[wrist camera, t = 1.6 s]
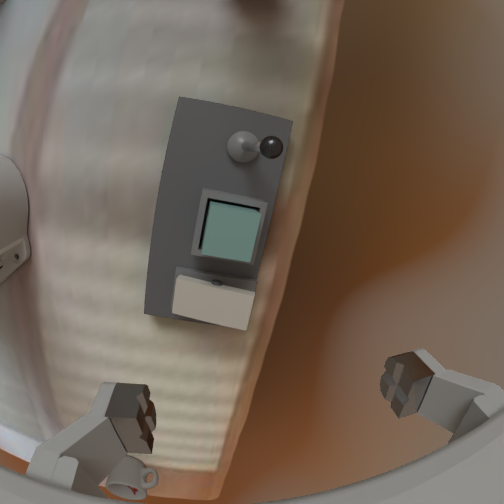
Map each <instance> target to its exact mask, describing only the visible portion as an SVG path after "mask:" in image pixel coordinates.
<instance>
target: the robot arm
mask: <svg viewBox="0 0 504 504" xmlns="http://www.w3.org/2000/svg"><path fill="white" fill-rule="evenodd" d="M27 222H28V198H27V192H26V188H25V184H24V181H23V179H22V176H21V174H20V172H19V170H18V169H17V167H16V166H15V165H14V164H13V162H12V161H10V160H9V159H8V158H6V157H4V156H2V155H0V285H1V284H2V283H3V282H4V281H5V280H6V279H7V278H8V277H9V276H10V275H11V274H12V273H13V272H14V271H15V270H17V269H18V268H19V267H20V266H21V265H22V264H23V263H24V262H25V261H27V260H28V259H29V257H30V253H31V252H30V245H29V240H28V236H27ZM17 254H18V256H19V258H18V257H17ZM384 367H385V369H386V371H385V372H384V374H383V375H382V376H381V380H380V391H381V393H382V395H383V397H384V398H385V399H386V400H388V401H390V402H391V409H392V410H393V411H394V413H395V414H396V416H397V417H398V418H402V417H405V416H408V415H411V414H414V413H416V412H417V413H418V414H419V415H421V416H423V417H425V418H426V419H428V420H430V421H432V422H434V423H435V424H437V425H439V426H441V427H443V428H445V429H447V430H448V431H450V432H452V433H454V434H453V436H452V437H451V439H450V440H449V442H448V444H447V445H445V446H443V447H441V448H440V449H438V450H435V451H433V452H432V453H430V454H427V455H425V456H423V457H421V458H419V459H417V460H414V461H412V462H410V463H407V464H405V465H403V466H400V467H398V468H396V469H393V470H390V471H388V472H385V473H382V474H380V475H377V476H374V477H371V478H368V479H365V480H362V481H359V482H356V483H352V484H349V485H346V486H342V487H338V488H335V489H331V490H327V491H323V492H319V493H315V494H310V495H305V496H300V497H295V498H289V499H283V500H277V501H270V502H262V503H253V504H504V391H503V390H502V389H501V388H500V387H499V386H498V385H497V384H493V383H491V382H487V381H484V380H480V379H478V378H474V377H471V376H468V375H465V374H462V373H459V372H456V371H453V370H445V369H444V368H443V367H442V366H441V365H440V364H439V363H438V362H437V361H436V360H435V359H434V358H433V357H432V356H431V355H430V354H429V353H428V352H427V351H426V350H424V349H422V348H420V349H416V350H413V351H410V352H407V353H403V354H399V355H396V356H392V357H388V358H387V360H386V361H385V365H384ZM149 397H150V391H149V388H148V386H147V385H146V384H128V383H111V382H104V383H102V384H101V386H100V389H99V391H98V393H97V396H96V398H95V401H94V403H93V406H92V408H91V411H90V413H89V415H86V414H85V415H84V416H82V417H81V418H79V419H78V420H76V421H75V422H73V423H72V424H71V425H69V426H68V427H66V428H65V429H63V430H62V431H60V432H59V433H57V434H56V435H54V436H53V437H51V438H50V439H48V440H47V441H45V442H44V443H42V444H41V445H39V446H38V447H37V448H36V450H35V452H34V455H33V457H32V459H31V462H30V464H29V466H28V469H27V471H26V474H25V475H23V474H20V473H18V472H15V471H13V470H10V469H8V468H6V467H4V466H1V465H0V504H143V503H135V502H128V501H121V500H114V499H109V498H108V497H107V496H106V495H105V494H104V493H103V491H102V490H101V489H100V488H99V487H98V485H99V484H100V483H101V482H102V481H103V480H104V479H105V477H106V476H107V475H108V474H109V473H110V472H111V471H112V470H113V469H114V468H115V467H116V466H117V465H118V463H119V462H120V461H121V460H122V459H123V458H124V457H125V456H126V455H127V453H144V454H152V449H153V442H154V438H153V435H152V431H153V430H155V428H156V411H155V406H154V403H153V402H152V401H151V400H149Z"/></svg>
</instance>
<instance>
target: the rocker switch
mask: <svg viewBox="0 0 504 504" xmlns="http://www.w3.org/2000/svg"><path fill="white" fill-rule="evenodd" d="M254 297H255V292H252V291H248V290H243V289H239V288H234V287H230V286H226V285H223V282H222V281H220V280H217V279H213V280H211V282H208V281H204V280H200V279H196V278H192V277H188V276H183V275H179V276H178V277H177V278H176V285H175V293H174V300H173V309H172V313H174V314H178V315H181V316H185V317H189V318H193V319H197V320H201V321H205V322H209V323H214V324H218V325H222V326H226V327H231V328H235V329H240V330H244V331H246V329H247V325H248V321H249V317H250V313H251V309H252V305H253V301H254Z"/></svg>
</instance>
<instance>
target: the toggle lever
mask: <svg viewBox="0 0 504 504" xmlns="http://www.w3.org/2000/svg"><path fill="white" fill-rule="evenodd" d="M241 148H242V150H244V151H248V152H261V154H262V155H263V156H264V157H266V158H268V159H275V158H277V157H279V156H280V155H281V154H282V152H283V143H282V141H281V140H280V139H279V138H278V137H276V136H267V137H265V138H264V139H262V141H245V142H243V143H242V145H241Z"/></svg>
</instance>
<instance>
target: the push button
mask: <svg viewBox="0 0 504 504" xmlns="http://www.w3.org/2000/svg"><path fill="white" fill-rule="evenodd" d="M260 217H261V214H260V213H259V212H258V211H257V210H256V209H251V208H246V207H241V206H236V205H230V204H225V203H220V202H214V201H210V204H209V209H208V214H207V219H206V225H205V230H204V235H203V241H202V252H201V254H202V255H208V256H214V257H220V258H226V259H233V260H239V261H245V262H250V261H251V257H252V253H253V248H254V244H255V239H256V235H257V231H258V226H259V222H260Z"/></svg>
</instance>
